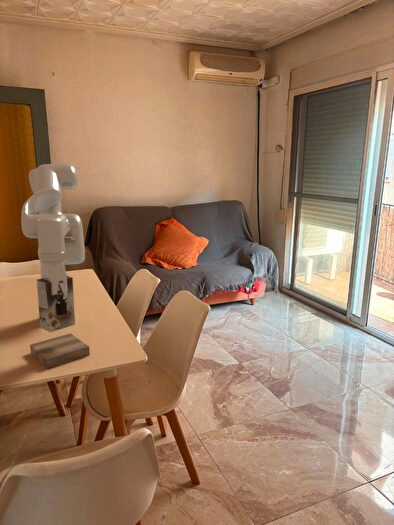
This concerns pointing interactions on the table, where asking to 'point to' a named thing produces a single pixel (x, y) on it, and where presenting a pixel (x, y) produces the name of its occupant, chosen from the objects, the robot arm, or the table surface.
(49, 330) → the coffee box
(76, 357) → the brownish grey square block
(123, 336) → the table surface
